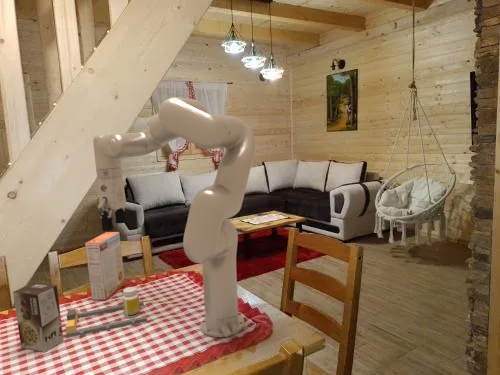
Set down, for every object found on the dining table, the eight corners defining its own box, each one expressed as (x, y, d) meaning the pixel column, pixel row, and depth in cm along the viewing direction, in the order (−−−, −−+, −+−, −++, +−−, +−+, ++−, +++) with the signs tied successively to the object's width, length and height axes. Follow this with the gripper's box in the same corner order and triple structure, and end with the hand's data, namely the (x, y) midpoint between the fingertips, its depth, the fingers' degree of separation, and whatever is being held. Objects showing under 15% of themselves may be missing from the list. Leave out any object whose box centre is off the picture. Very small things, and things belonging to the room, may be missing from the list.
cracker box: (110, 284, 141) (105, 231, 138) (125, 284, 140) (120, 231, 138) (90, 300, 128) (84, 242, 125) (106, 301, 127) (100, 242, 124)
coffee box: (64, 339, 103) (58, 284, 101) (45, 353, 97) (37, 294, 95) (39, 335, 106) (33, 281, 104) (19, 347, 100) (11, 291, 98)
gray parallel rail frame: (147, 322, 110) (147, 319, 110) (66, 339, 103) (66, 336, 103) (143, 302, 124) (143, 299, 124) (71, 316, 117) (71, 313, 117)
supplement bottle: (143, 312, 117) (141, 287, 116) (132, 319, 113) (130, 293, 112) (131, 310, 119) (129, 285, 118) (120, 316, 115) (118, 291, 114)
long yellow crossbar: (74, 335, 105) (73, 320, 104) (66, 336, 104) (65, 322, 104) (78, 316, 116) (76, 303, 115) (71, 318, 115) (69, 304, 115)
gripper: (109, 176, 108) (114, 233, 110) (131, 171, 125) (135, 220, 128) (84, 177, 109) (90, 234, 111) (109, 171, 126) (114, 220, 128)
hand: (114, 226), depth 119 cm, fingers open, 9 cm apart
